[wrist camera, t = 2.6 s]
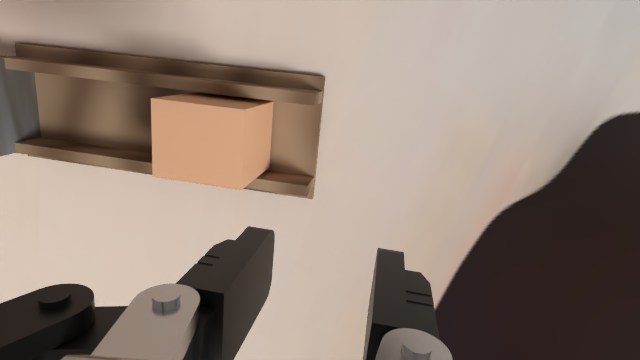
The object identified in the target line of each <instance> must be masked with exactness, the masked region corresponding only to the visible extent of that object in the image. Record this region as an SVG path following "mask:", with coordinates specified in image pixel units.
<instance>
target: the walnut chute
mask: <svg viewBox="0 0 640 360" xmlns="http://www.w3.org/2000/svg"><path fill="white" fill-rule="evenodd" d="M15 47H16V56H0V156H3V155H8V154H12V153H21V154H28V156H33V157H39V158H46V159H52V160H59V161H65V162H72V163H79V164H85V165H92V166H98V167H105V168H111V169H118V170H124V171H131V172H138V173H144V174H151V175H153V174H152V130H151V98H156V97H164V96H171V95H179V94H187V93H194V92H199V93H207V94H216V95H224V96H232V97H241V98H249V99H257V100H266V101H274V104H273V119H272V135H271V150H270V166H269V168H268V169H267V170H266V171H264V172H263V173H262V174H261V175H259V176H258V177H257V178H256V179H254V180H253V181H252V182H251V183H249V184H248V185H247V186H246V187H245V188H243V189H249V190H255V191H262V192H269V193H275V194H282V195H288V196H295V197H301V198H308V199H312V198H313V195H314V185H315V175H316V165H317V155H318V145H319V134H320V124H321V114H322V104H323V94H324V84H325V77H323V76H313V75H304V74H295V73H286V72H277V71H267V70H258V69H249V68H240V67H231V66H221V65H212V64H203V63H194V62H185V61H175V60H166V59H157V58H148V57H139V56H129V55H120V54H111V53H102V52H93V51H84V50H74V49H65V48H56V47H47V46H38V45H28V44H18V43H15Z"/></svg>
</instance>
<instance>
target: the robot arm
mask: <svg viewBox="0 0 640 360" xmlns="http://www.w3.org/2000/svg"><path fill="white" fill-rule="evenodd" d="M273 253H274V231H273V230H268V229H262V228H256V227H250V226H249V227H247V228H246V229H245V230H244V232H243V233H242V234H241V235H240V236H239V237H238V238H237V239H236V240H229V239H228V240H225V241H223V242H221V243H219V244H216V245H214V246H213V247H212V248H211V249H210V250H209V251H208V252H207V253H206V254H205V256H203V257H202V258H201V259H200V260H199V261H198V263H197V264H195V265H194V266H193V267H192V268H191V269H190V270H189V271H188V272H187V273H186V274H185V275H184V276H183V277H182V278H181V279H180V280H179V281H178V282H177V283H176V284H163V285H158V286H154V287H151V288H148V289H146V290H144V291H142V292H141V293H139V294H138V295H137V296H136V297H135V298H134V299H133V300H132V302H131V303H130V304H129V306H115V307H95V305H94V293H93V291H92V290H91V289H90V288H88V287H86V286H83V285H79V284H59V285H53V286H49V287H45V288H42V289H39V290H36V291H33V292H31V293H28V294H25V295H22V296H20V297H17V298H14V299H12V300H9V301H6V302H3V303H1V304H0V360H234V358H235V356H236V354H237V352H238V351H239V349H240V347H241V345H242V343H243V341H244V340H245V338H246V336H247V334H248V332H249V330H250V329H251V327H252V325H253V323H254V321H255V319H256V318H257V316H258V314H259V312H260V310H261V308H262V307H263V305H264V303H265V301H266V299H267V297H268V294H269V290H270V286H271V280H272V267H273ZM433 306H434V304H433V298H432V292H431V286H430V283H429V282H428V281H427V280H426V278H425V277H424V276H423V275H422V274H421V273H420V272H414V271H408V270H405V267H404V252H399V251H393V250H387V249H381V248H378V250H377V256H376V262H375V269H374V276H373V282H372V289H371V295H370V302H369V309H368V317H367V326H366V336H365V345H364V355H363V360H452V356H451V353H450V352H449V350H448V348H447V347H446V346H445V345H444V344H443V343H442V342H441V341H440V340H439V334H438V328H437V322H436V316H435V310H434V307H433Z"/></svg>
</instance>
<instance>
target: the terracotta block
mask: <svg viewBox="0 0 640 360" xmlns="http://www.w3.org/2000/svg"><path fill="white" fill-rule="evenodd" d="M273 104H274V101H266V100H257V99H249V98H241V97H232V96H224V95H216V94H207V93H199V92H194V93H187V94H179V95H171V96H164V97H156V98H151V130H152V174H153V177H158V178H165V179H171V180H178V181H184V182H191V183H197V184H204V185H210V186H217V187H224V188H230V189H237V190H242V189H243V188H245V187H246V186H247V185H248V184H249V183H251V182H252V181H253V180H254V179H256V178H257V177H258V176H259V175H261V174H262V173H263V172H264V171H266V170H267V169H268V168H269V166H270V150H271V135H272V119H273Z"/></svg>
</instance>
